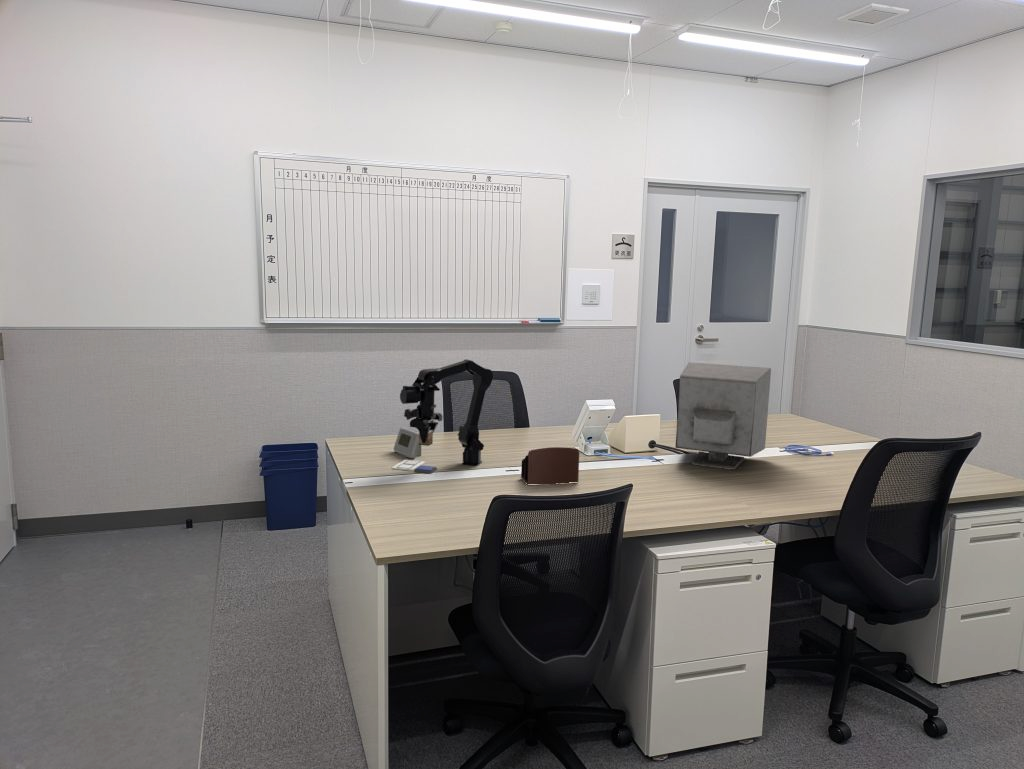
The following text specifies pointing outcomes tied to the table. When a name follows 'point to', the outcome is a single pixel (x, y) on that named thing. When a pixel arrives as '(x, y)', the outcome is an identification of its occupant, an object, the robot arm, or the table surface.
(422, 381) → the robot arm
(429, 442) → the beige block
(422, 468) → the ink pad
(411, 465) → the sheet
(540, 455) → the letter holder
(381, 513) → the table surface
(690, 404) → the crt monitor
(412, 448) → the digital clock
